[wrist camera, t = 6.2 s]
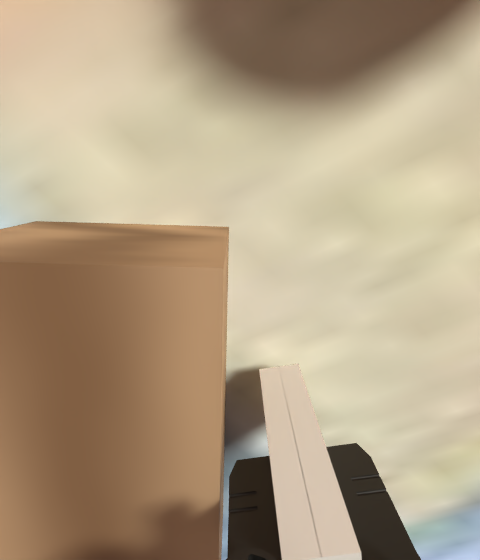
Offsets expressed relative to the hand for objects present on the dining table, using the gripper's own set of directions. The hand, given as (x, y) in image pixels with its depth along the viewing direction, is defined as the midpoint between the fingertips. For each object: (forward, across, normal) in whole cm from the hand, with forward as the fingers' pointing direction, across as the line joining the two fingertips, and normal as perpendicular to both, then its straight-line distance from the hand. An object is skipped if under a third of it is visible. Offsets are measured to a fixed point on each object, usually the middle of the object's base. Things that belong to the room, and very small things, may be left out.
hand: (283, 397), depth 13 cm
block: (+2, -6, 0) cm, 6 cm away
